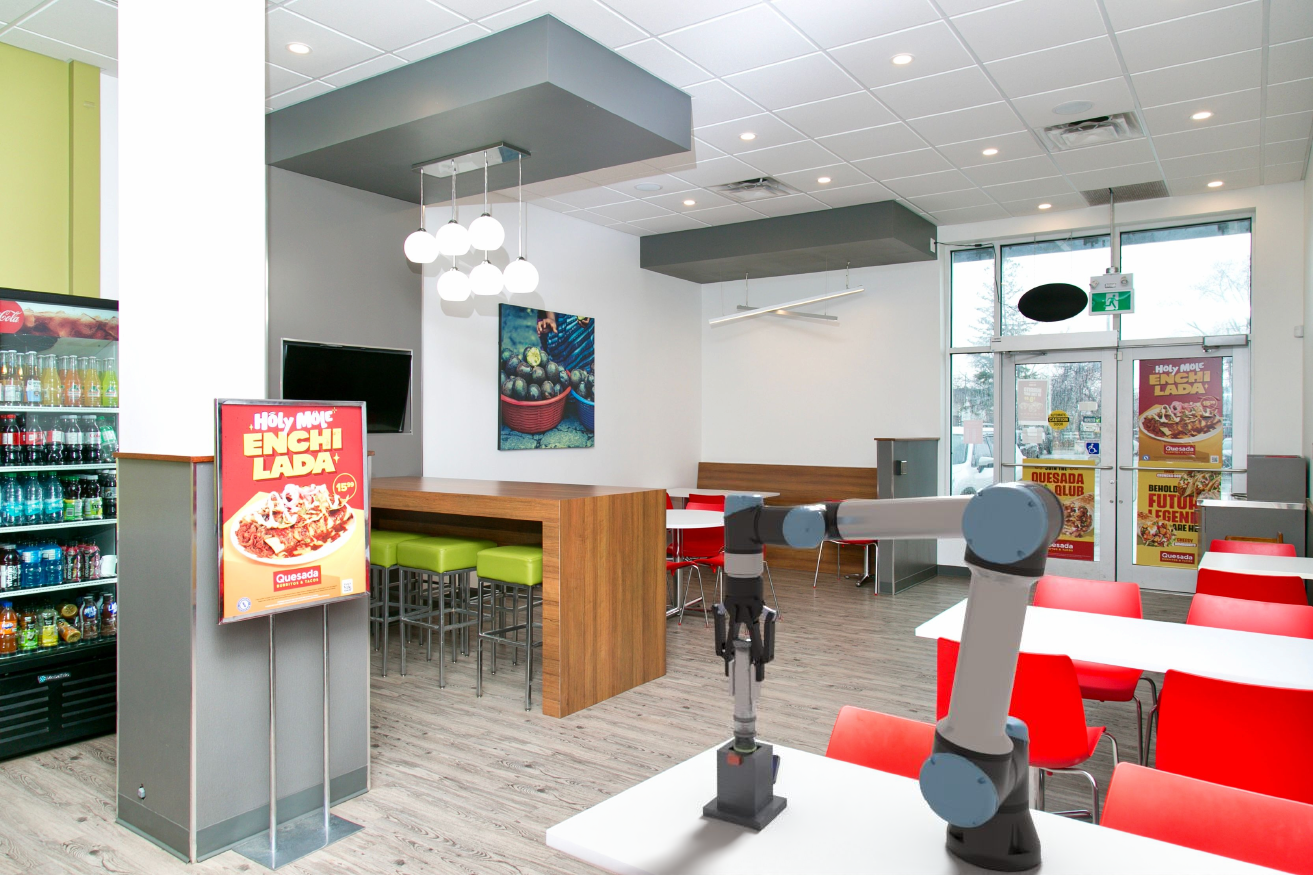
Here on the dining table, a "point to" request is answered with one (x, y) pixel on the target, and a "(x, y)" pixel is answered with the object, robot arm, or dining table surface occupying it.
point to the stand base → (745, 787)
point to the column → (743, 697)
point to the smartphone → (775, 767)
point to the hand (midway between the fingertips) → (744, 695)
